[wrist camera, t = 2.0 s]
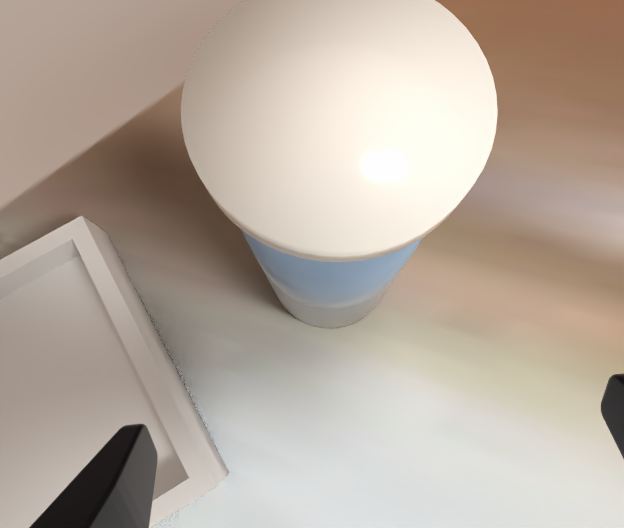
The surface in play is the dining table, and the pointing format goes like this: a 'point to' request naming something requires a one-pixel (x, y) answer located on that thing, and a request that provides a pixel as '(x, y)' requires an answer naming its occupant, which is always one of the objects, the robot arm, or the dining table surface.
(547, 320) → the dining table surface
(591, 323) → the dining table surface
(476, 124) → the blue cylindrical canister
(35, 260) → the tray
